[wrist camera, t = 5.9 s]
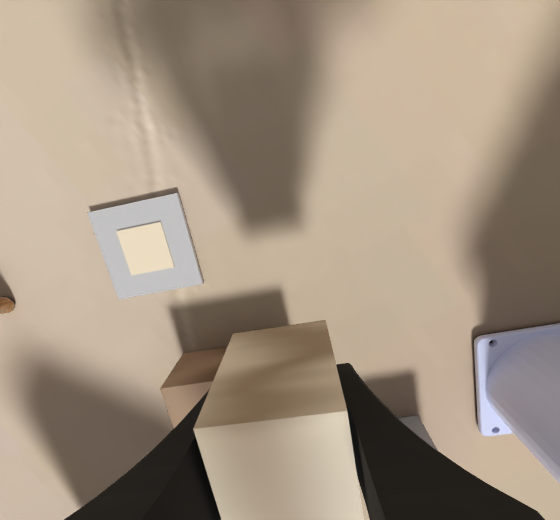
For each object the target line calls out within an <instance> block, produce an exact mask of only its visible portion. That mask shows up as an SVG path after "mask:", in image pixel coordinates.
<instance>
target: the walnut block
mask: <svg viewBox="0 0 560 520" xmlns="http://www.w3.org/2000/svg"><path fill="white" fill-rule="evenodd" d="M226 349H227V347H222V348H215V349H209V350H202V351H196V352H189V353H183V355H182V356H181V358H180V359H179V361H178V362H177V364H176V365H175V367H174V368H173V370H172V371H171V373H170V375H169V376H168V378H167V379H166V381H165V382H164V384H163V385H162V387H161V388H160V390H161V393H162V395H163V398H164V401H165V404H166V407H167V410H168V413H169V416H170V419H171V422H172V425H173V428H175V427H176V426H177V425H178V424H179V423H180V422H181V421H182V420H183V419H184V417H185V416H186V415H187V414H188V413H189V412H190V411H191V410H192V409H193V407H194V406H195V405H196V404H197V403H198V402H199V401H200V399H201V398H202V397H203V396H204V395H205V394H206V393H207V391H208V390H209V389H210V388H211V385H212V383H213V380H214V378H215V376H216V373H217V371H218V368H219V366H220V364H221V361H222V359H223V356H224V354H225V352H226Z"/></svg>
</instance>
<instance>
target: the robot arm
mask: <svg viewBox="0 0 560 520" xmlns="http://www.w3.org/2000/svg"><path fill="white" fill-rule="evenodd" d="M491 340H493V342H492V343H490V344H489V342H490V341H491ZM474 354H475V374H476V395H477V416H478V429H479V431H480V432H481V434H482V435H484V436H494V435H503V434H511V433H514V434H515V435H516V436H517V437H518V439H519V440H520V441H521V442H522V443H523V444H524V445H525V446H526V447H527V449H528V450H529V451H530V452H531V453H532V454H533V455H534V456H535V457H536V459H537V460H538V461H539V462H540V463H541V464H542V465H543V466H544V467H545V469H546V470H547V471H548V472H549V473H550V474H551V475H552V476H553V477H554V478H555V480H556V481H557V482H558V483H559V484H560V323H558V324H552V325H545V326H539V327H532V328H526V329H519V330H513V331H506V332H500V333H493V334H487V335H481V336H478V337H477V338H476V339H475V340H474ZM336 366H337V370H338V374H339V379H340V383H341V387H342V391H343V395H344V399H345V403H346V408H347V412H348V419H349V425H350V432H351V439H352V445H353V452H354V458H355V465H356V471H357V476H358V480H359V483H360V486H361V489H362V493H363V496H364V499H365V503H366V506H367V510H368V514H369V518H370V520H545V519H544V518H543V517H542V516H541V515H540V514H539V513H538V512H537V511H536V510H534V509H532V508H530V507H529V506H527V505H525V504H523V503H521V502H520V501H518V500H516V499H514V498H512V497H510V496H509V495H507V494H505V493H503V492H501V491H499V490H498V489H496V488H494V487H492V486H490V485H489V484H487V483H485V482H484V481H482V480H480V479H479V478H477V477H476V476H474V475H472V474H471V473H469V472H468V471H466V470H464V469H463V468H461V467H460V466H459V465H457V464H456V463H454V462H453V461H451V460H450V459H449V458H447V457H446V456H444V455H443V454H441V453H440V452H438V451H437V450H436V449H434V448H433V447H432V446H430V445H429V444H428V443H427V442H425V441H424V440H423V439H421V438H420V437H419V436H418V435H417V434H415V433H414V432H413V431H412V430H411V429H409V428H408V427H407V426H406V425H405V424H404V423H402V422H401V421H400V420H399V419H398V418H397V417H396V416H395V415H394V414H393V413H392V412H391V411H390V410H389V409H388V408H387V407H386V406H385V405H384V404H383V403H382V402H381V401H380V400H379V399H378V398H377V397H376V396H375V395H374V393H373V392H372V391H371V390H370V389H369V388H368V387H367V385H366V384H365V383H364V382H363V381H362V379H361V378H360V377H359V375H358V374H357V373H356V371H355V370H354V368H353V367H352V365H351V364H349V363H345V364H338V365H336ZM209 390H210V389H209ZM209 390H208V391H207V393H206V394H205V395H204V396H203V397H202V398H201V399H200V401H199V402H198V403H197V404H196V405H195V406H194V407H193V409H192V410H191V411H190V412H189V413H188V414H187V415H186V416H185V417H184V419H183V420H182V421H181V422H180V423H179V424H178V425H177V426H176V427H175V428H174V429H173V430H172V431H171V432H170V433H169V434H168V435H167V436H166V437H165V438H164V439H163V440H162V441H161V442H160V443H159V444H158V445H157V446H156V447H155V448H154V449H153V450H152V451H151V452H150V453H149V454H148V455H147V456H146V457H144V458H143V459H142V460H141V461H140V462H139V463H138V464H137V465H135V466H134V467H133V468H132V469H131V470H130V471H128V472H127V473H126V474H125V475H123V476H122V477H121V478H120V479H118V480H117V481H116V482H115V483H113V484H112V485H111V486H110V487H108V488H107V489H106V490H105V491H103V492H102V493H101V494H99V495H98V496H97V497H95V498H94V499H93V500H91V501H90V502H89V503H87V504H86V505H84V506H83V507H82V508H80V509H79V510H77V511H76V512H75V513H73V514H72V515H70V516H69V517H67V518H66V519H64V520H221V517H220V514H219V510H218V507H217V504H216V501H215V497H214V494H213V491H212V488H211V485H210V481H209V478H208V475H207V472H206V469H205V465H204V462H203V459H202V456H201V452H200V449H199V446H198V443H197V440H196V436H195V433H194V430H193V428H194V426H195V424H196V421H197V419H198V416H199V414H200V412H201V409H202V407H203V404H204V402H205V400H206V397H207V395H208V392H209Z"/></svg>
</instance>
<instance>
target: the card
mask: <svg viewBox="0 0 560 520" xmlns="http://www.w3.org/2000/svg"><path fill="white" fill-rule="evenodd" d="M87 213H88V216H89V219H90V222H91V224H92V227H93V230H94V233H95V235H96V238H97V241H98V244H99V246H100V249H101V252H102V255H103V257H104V260H105V263H106V266H107V268H108V271H109V274H110V277H111V279H112V282H113V285H114V288H115V290H116V293H117V296H118V299H125V298H130V297H136V296H141V295H146V294H152V293H157V292H163V291H168V290H173V289H179V288H184V287H190V286H195V285H200V284H203V283H204V281H203V277H202V274H201V270H200V267H199V263H198V259H197V256H196V252H195V249H194V245H193V242H192V238H191V235H190V231H189V228H188V224H187V221H186V217H185V214H184V210H183V206H182V203H181V199H180V196H179V193H174V194H170V195H165V196H161V197H156V198H152V199H147V200H142V201H138V202H133V203H129V204H124V205H119V206H115V207H110V208H106V209H101V210H97V211H92V212H87Z"/></svg>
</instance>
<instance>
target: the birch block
mask: <svg viewBox="0 0 560 520" xmlns="http://www.w3.org/2000/svg"><path fill="white" fill-rule="evenodd" d="M193 430H194V433H195V436H196V440H197V443H198V446H199V449H200V452H201V456H202V459H203V462H204V465H205V469H206V472H207V475H208V478H209V481H210V485H211V488H212V491H213V494H214V497H215V501H216V504H217V507H218V510H219V514H220V517H221V520H364V517H363V511H362V504H361V498H360V491H359V485H358V478H357V471H356V465H355V458H354V452H353V445H352V439H351V432H350V425H349V419H348V412H347V408H346V403H345V399H344V395H343V391H342V387H341V383H340V379H339V374H338V370H337V366H336V362H335V358H334V354H333V350H332V345H331V341H330V337H329V333H328V329H327V325H326V321H325V320H322V321H315V322H309V323H302V324H295V325H288V326H281V327H275V328H268V329H261V330H254V331H247V332H241V333H234V334H233V335H232V337H231V340H230V342H229V344H228V347H227V349H226V352H225V354H224V356H223V359H222V361H221V364H220V366H219V368H218V371H217V373H216V376H215V378H214V380H213V383H212V385H211V388H210V390H209V392H208V395H207V397H206V400H205V402H204V404H203V407H202V409H201V412H200V414H199V416H198V419H197V421H196V424H195V426H194V428H193Z"/></svg>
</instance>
